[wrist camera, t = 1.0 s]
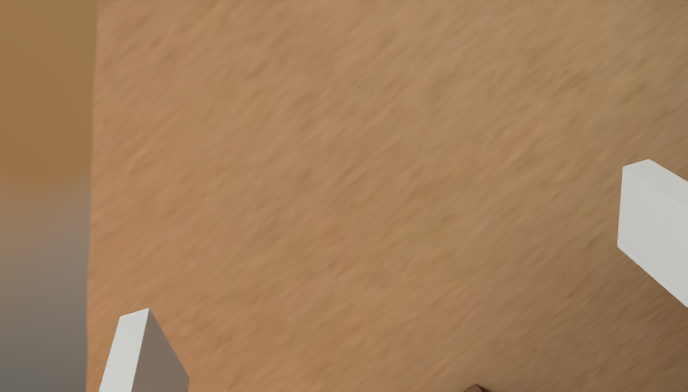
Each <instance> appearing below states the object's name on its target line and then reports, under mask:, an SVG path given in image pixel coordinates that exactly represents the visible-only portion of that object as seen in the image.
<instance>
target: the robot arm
mask: <svg viewBox="0 0 688 392" xmlns="http://www.w3.org/2000/svg"><path fill="white" fill-rule="evenodd" d="M617 247H618V248H620V249H621V250H622V251H623V252H624V253H625V254H626V255H628V256H629V257H630V258H631V259H632V260H633V261H634V262H636V263H637V264H638V265H639V266H640V267H641V268H643V269H644V270H645V271H646V272H647V273H648V274H649V275H651V276H652V277H653V278H654V279H655V280H656V281H657V282H659V283H660V284H661V285H662V286H663V287H664V288H665V289H667V290H668V291H669V292H670V293H671V294H672V295H674V296H675V297H676V298H677V299H678V300H679V301H680V302H682V303H683V304H684V305H685V306H686V307H687V308H688V182H687V181H685V180H684V179H682V178H680V177H679V176H677V175H675V174H674V173H672V172H670V171H669V170H667V169H665V168H663V167H662V166H660V165H658V164H657V163H655V162H653V161H652V160H650V159H648V160H644V161H641V162H638V163H634V164H631V165H627V166H624V167H623V173H622V187H621V201H620V215H619V229H618V243H617ZM188 384H189V376H188V375H187V373H186V371H185V369H184V368H183V366H182V364H181V362H180V361H179V359H178V357H177V355H176V354H175V352H174V350H173V348H172V347H171V345H170V343H169V341H168V340H167V338H166V336H165V334H164V333H163V331H162V329H161V327H160V326H159V324H158V322H157V320H156V319H155V317H154V315H153V313H152V312H151V310H150V308H147V309H144V310H141V311H137V312H134V313H131V314H127V315H124V316H121V317H120V319H119V323H118V326H117V330H116V333H115V337H114V340H113V344H112V347H111V351H110V354H109V358H108V361H107V365H106V368H105V372H104V375H103V379H102V382H101V386H100V389H99V392H188Z"/></svg>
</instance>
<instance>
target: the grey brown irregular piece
mask: <svg viewBox="0 0 688 392" xmlns="http://www.w3.org/2000/svg"><path fill="white" fill-rule="evenodd" d="M464 392H483V391H482V390H481V389H480V387H479V386H478V385H477V384H475V385H473V386H472V387H470V388H468V389H467V390H466V391H464Z"/></svg>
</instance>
